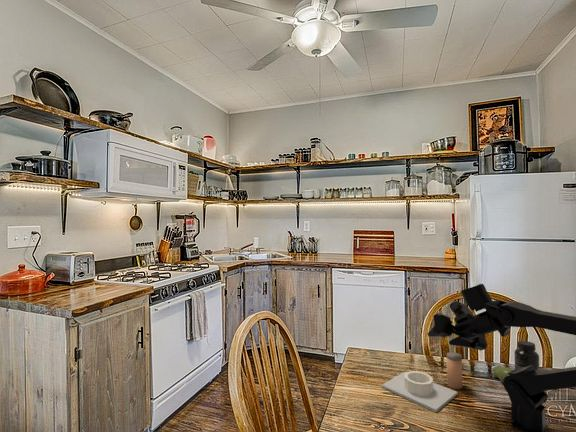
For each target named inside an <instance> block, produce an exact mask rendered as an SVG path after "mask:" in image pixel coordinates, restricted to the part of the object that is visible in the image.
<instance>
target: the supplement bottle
mask: <svg viewBox="0 0 576 432" xmlns="http://www.w3.org/2000/svg"><path fill="white" fill-rule="evenodd" d="M530 365H533V366H534V369H535V370H537V371H540V355H539V353H538V352H537V349H536V343H534V342H531V341H527V340H518V341H517V348H516V349H514V369H516V368H517V367H519V366H520V367H527V366H530Z"/></svg>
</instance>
